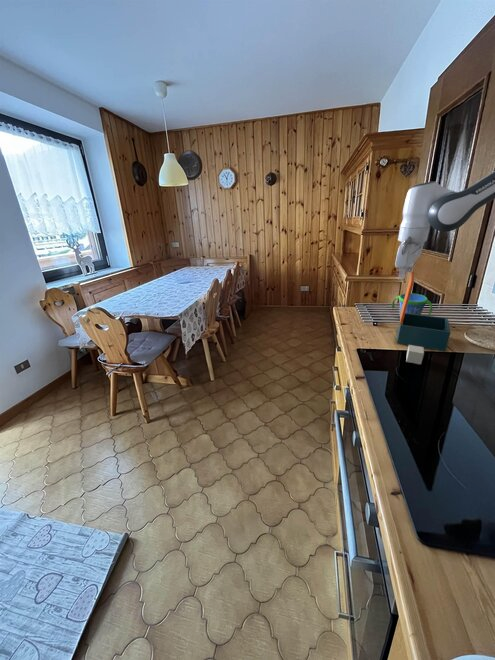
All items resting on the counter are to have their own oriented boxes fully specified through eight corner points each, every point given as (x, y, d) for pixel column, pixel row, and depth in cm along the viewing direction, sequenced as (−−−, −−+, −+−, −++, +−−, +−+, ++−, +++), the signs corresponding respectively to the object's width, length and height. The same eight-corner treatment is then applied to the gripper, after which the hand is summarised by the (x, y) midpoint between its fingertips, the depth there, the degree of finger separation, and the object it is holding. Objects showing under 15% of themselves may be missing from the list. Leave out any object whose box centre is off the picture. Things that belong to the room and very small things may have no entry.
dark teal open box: (442, 335, 110) (447, 318, 107) (445, 351, 100) (450, 332, 97) (398, 329, 117) (401, 312, 113) (396, 343, 107) (400, 325, 104)
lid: (413, 272, 105) (411, 272, 105) (413, 282, 96) (411, 281, 96) (403, 311, 113) (400, 311, 113) (402, 324, 103) (399, 324, 104)
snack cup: (385, 317, 128) (389, 296, 123) (396, 310, 133) (400, 290, 129) (422, 328, 117) (428, 305, 112) (432, 320, 122) (438, 298, 118)
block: (420, 357, 98) (423, 347, 96) (421, 364, 94) (424, 353, 92) (406, 355, 100) (408, 344, 98) (406, 361, 96) (408, 350, 94)
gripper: (415, 241, 88) (407, 283, 94) (430, 231, 101) (421, 269, 108) (393, 240, 92) (387, 281, 98) (410, 230, 105) (403, 267, 111)
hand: (405, 274), depth 103 cm, fingers open, 8 cm apart
